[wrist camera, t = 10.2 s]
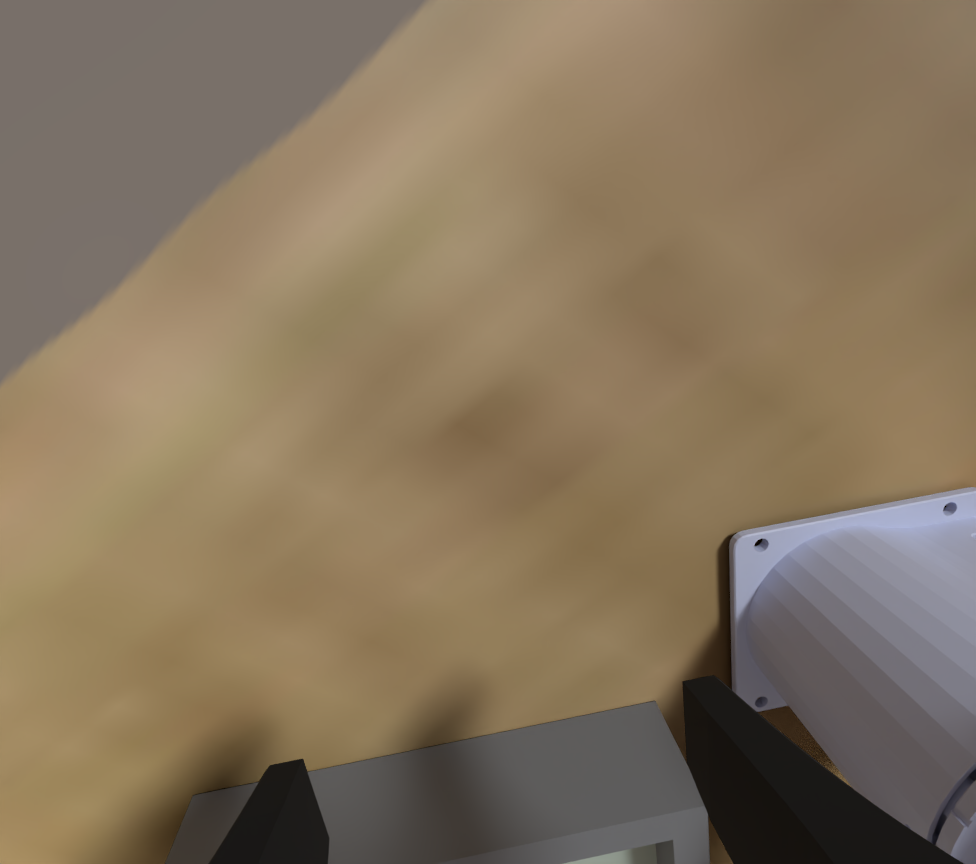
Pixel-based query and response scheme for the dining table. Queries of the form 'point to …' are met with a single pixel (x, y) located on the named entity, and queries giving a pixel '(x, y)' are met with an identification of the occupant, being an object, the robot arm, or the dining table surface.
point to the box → (500, 800)
